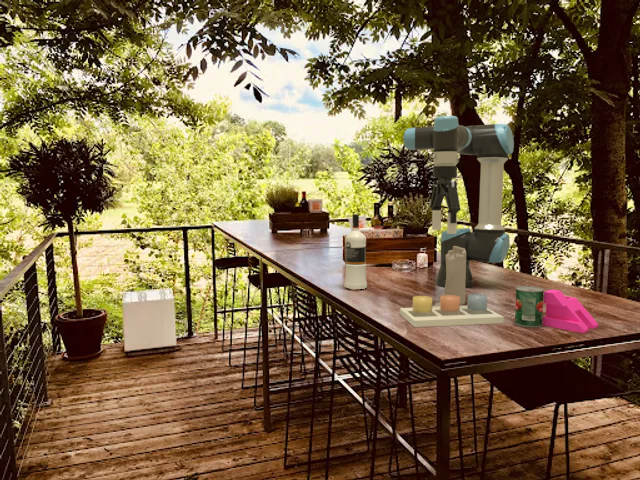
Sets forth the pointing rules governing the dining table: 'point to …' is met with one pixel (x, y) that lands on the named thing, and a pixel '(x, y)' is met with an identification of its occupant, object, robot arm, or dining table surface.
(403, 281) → the dining table surface
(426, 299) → the ochre button
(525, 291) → the canned tomato
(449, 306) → the terracotta button
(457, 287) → the beige tall tapered piece
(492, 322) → the panel
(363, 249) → the vodka
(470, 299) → the slate-blue button
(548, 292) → the bracket
